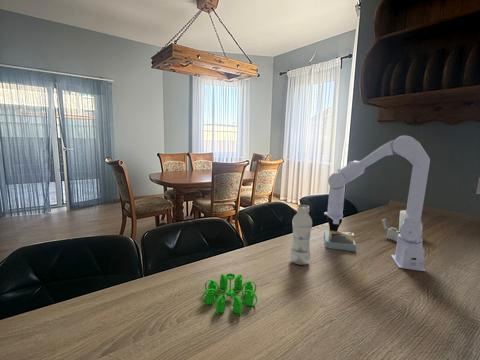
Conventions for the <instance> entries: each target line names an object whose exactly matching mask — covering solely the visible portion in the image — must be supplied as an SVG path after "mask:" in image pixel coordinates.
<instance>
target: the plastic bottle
mask: <svg viewBox="0 0 480 360" xmlns="http://www.w3.org/2000/svg"><path fill="white" fill-rule="evenodd" d="M296 212H297V213H296V214H295V215H294V216H293V218H292V220H291V222H292V223H291V224H292V244H291V249H290V253H289V255H290V260H291V261H292V263H293V264H296V265H299V266H306V265H307V264H309V262H310V261H311V251H310V250H311V249H310V239H311V231H312V228H313V219H312V217H311V216H310V214H309V213H310V205H307V204H298V205H297V210H296Z"/></svg>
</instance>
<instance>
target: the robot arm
mask: <svg viewBox="0 0 480 360" xmlns="http://www.w3.org/2000/svg"><path fill="white" fill-rule="evenodd" d="M396 154H397V155H399V156H401V157H403V158H404V159H406V160H407V161H408V162H409V163H410V164H411V165H412V169H411V174H410V175H411V176H410V183H409V188H408V189H409V190H408V195H407V202H406V203H407V204H406V209H405V210H406V214H405V218H404V220H403V221H402V225H401V227H400V230H399V229H398V231H399V232H400V233H399V234H398V239H397V241H396V247H395V254H391V255H390V257H391V259H392V260H393V262H394V263H395V265H396V266H397V267H398V268H399V269H405V270H413V271H420V272H426V269H425V267H424V261H425V255H426V252H425V249H424V247H423V241H424V238H423V237H422V236H423V226H424V224H423V221H422V215H423V214H422V213H423V208H424V202H425V195H426V190H427V189H426V188H427V183H428V176H429V170H430V165H431V164H430V163H431V159H430V156H429V155H428V153H427V152H426V151H425V149H424V147H423V146H422V145H421V142H419V141H418V140H417V139H415V137H412V136H410V135H400V136H398V137H397V138H395V139H393V140H390V141H388V142H386V143H384V144H382V145H381V146H379V147H378V148H377V149H375V150H373V151H372V152H371V153H370V154H368V155H366V156H364V158H362V159H361V160H353V161H348V162H347V164H346V165H345V166H343V167H342V168H339V169H337V170H336V171H337V172H335V173H332V174H331V175H329V177H328V180H327V181H328V185H329V191H328V202H327V211H325V212H323V214H324V216H326V220H327V223H328V226H329V227H328V228H329V229H328V231H329V230H330V231H338V230H339V228H340V226H341V225H342V222H343V219H342V218H343V217H344V214H343V211H344V204H345V193H346V192H345V190H346V189H345V187H346V185H347V183H350V182H351V181H353V180H355V179H356V178H358V177H360V176H361V175H364V173H365V169H366V168H367V167H369V166H370V165H372V164H374V163H376V162H377V161H379V160H380V159H383V158H384V157H386V156H394V155H396Z"/></svg>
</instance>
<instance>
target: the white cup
mask: <svg viewBox="0 0 480 360" xmlns="http://www.w3.org/2000/svg"><path fill="white" fill-rule="evenodd" d="M405 214H406V209H403V210H400V211H399V219H398V220H399V221H398V222H399V223H398V231H399V230H400V227H401V225H402V221H403V220H404V218H405Z"/></svg>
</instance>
